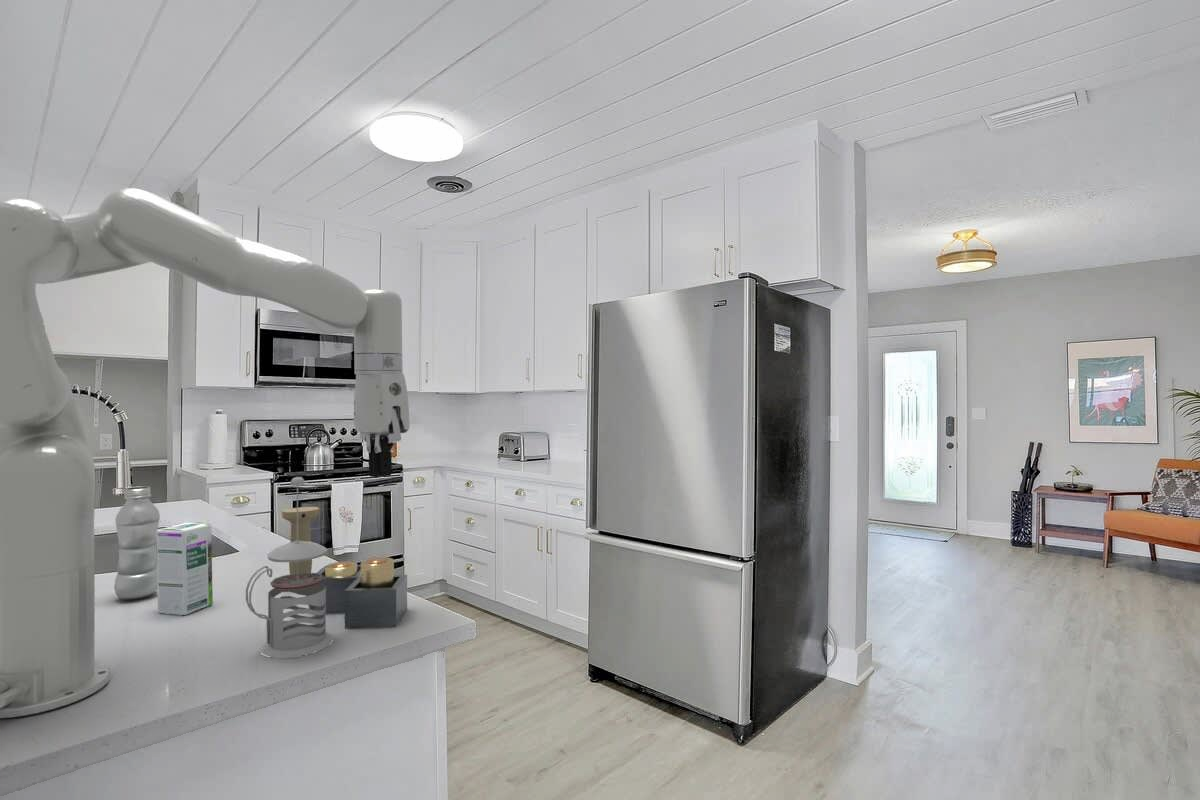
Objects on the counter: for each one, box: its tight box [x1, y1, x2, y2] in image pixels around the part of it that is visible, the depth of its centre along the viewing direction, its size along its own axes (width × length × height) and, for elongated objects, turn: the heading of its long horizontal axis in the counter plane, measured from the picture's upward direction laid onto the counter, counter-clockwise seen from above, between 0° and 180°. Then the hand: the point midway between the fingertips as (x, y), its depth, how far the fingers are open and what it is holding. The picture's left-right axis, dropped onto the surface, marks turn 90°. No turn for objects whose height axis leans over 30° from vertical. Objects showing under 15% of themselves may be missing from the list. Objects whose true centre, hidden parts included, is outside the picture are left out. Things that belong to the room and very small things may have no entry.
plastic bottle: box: [113, 485, 161, 600], centre depth 112 cm, size 6×7×20 cm
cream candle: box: [324, 560, 358, 577], centre depth 108 cm, size 5×5×6 cm
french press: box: [245, 476, 334, 659], centre depth 91 cm, size 10×12×25 cm
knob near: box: [360, 556, 395, 588], centre depth 102 cm, size 5×5×6 cm
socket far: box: [308, 564, 361, 614], centre depth 108 cm, size 8×8×6 cm
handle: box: [281, 506, 320, 575], centre depth 118 cm, size 5×6×15 cm
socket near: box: [344, 574, 408, 629], centre depth 102 cm, size 8×8×6 cm
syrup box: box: [156, 521, 214, 616], centre depth 106 cm, size 6×6×14 cm
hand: (380, 475), depth 102 cm, fingers closed
